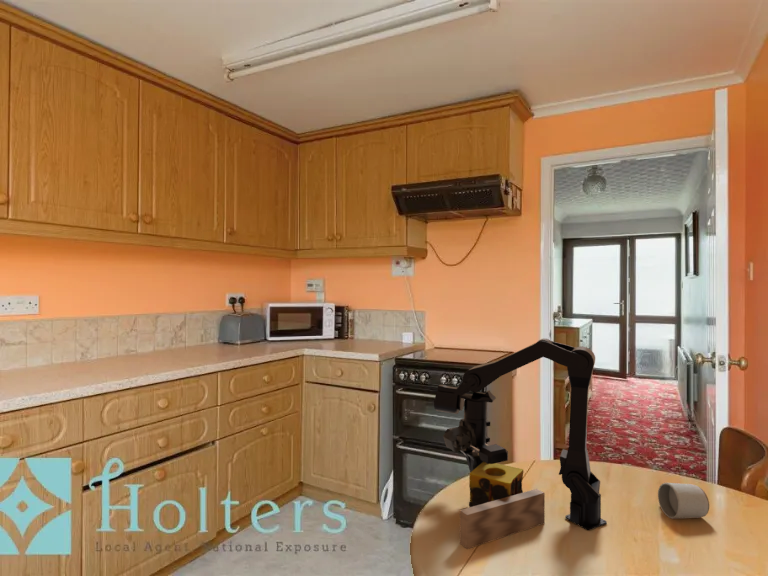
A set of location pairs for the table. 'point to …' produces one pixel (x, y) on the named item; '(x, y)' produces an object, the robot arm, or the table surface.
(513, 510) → the brown wooden board
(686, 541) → the table surface
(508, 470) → the spotted yellow cube
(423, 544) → the table surface
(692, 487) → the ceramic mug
